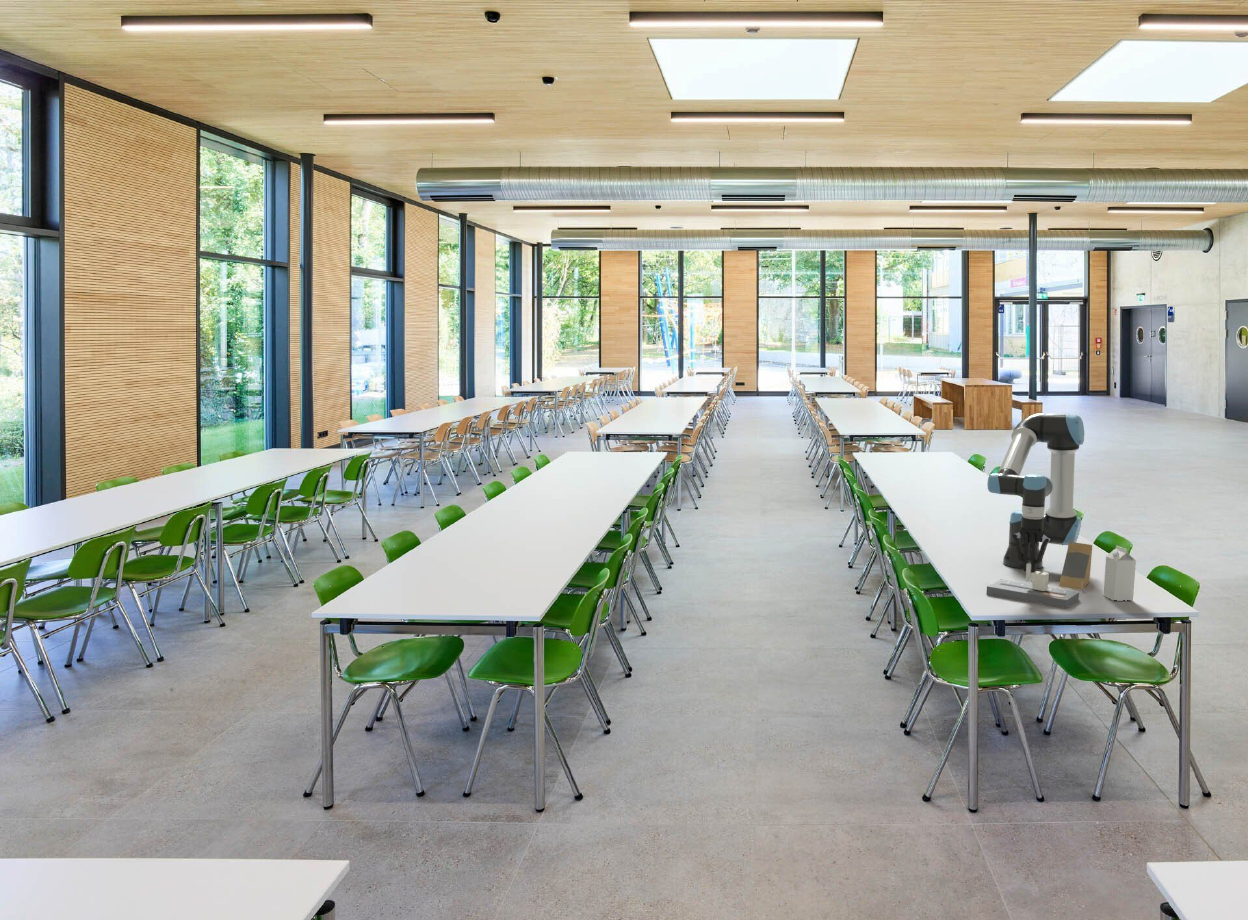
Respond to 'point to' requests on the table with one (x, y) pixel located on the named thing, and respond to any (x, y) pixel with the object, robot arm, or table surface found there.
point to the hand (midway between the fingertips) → (1028, 580)
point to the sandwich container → (1076, 566)
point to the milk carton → (1119, 575)
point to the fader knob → (1040, 581)
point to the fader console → (1033, 593)
